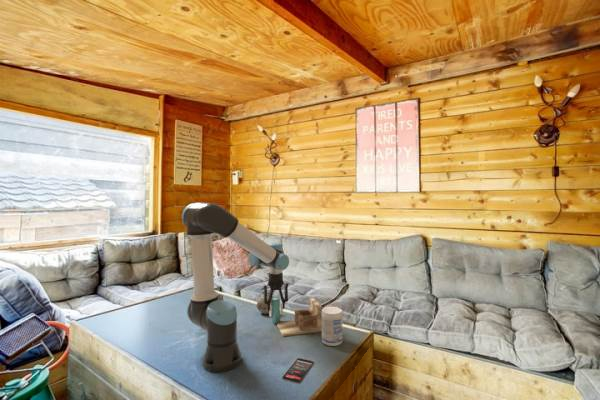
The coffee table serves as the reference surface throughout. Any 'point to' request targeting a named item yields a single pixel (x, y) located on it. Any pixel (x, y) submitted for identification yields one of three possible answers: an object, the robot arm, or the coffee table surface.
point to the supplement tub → (332, 326)
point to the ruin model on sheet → (220, 297)
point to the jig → (293, 329)
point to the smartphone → (298, 370)
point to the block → (305, 319)
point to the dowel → (275, 310)
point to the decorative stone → (263, 305)
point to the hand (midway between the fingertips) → (276, 315)
